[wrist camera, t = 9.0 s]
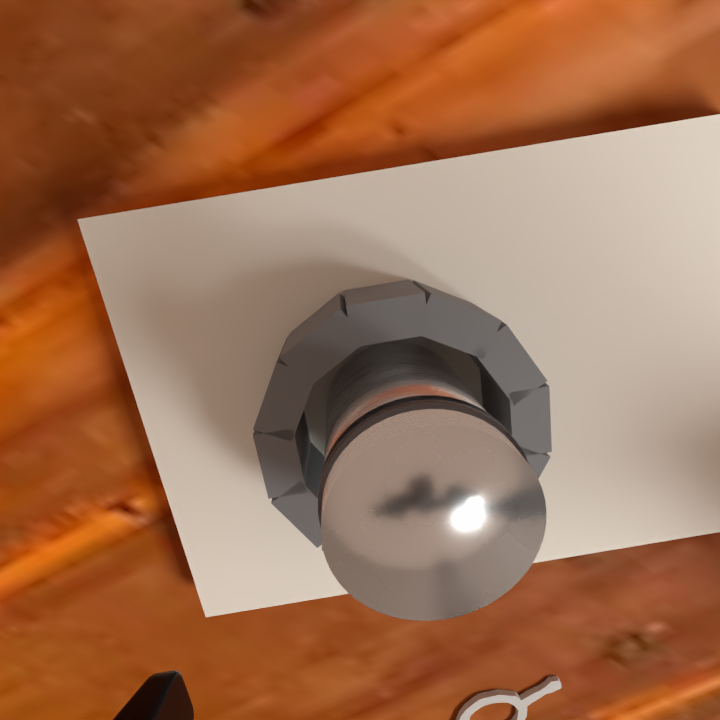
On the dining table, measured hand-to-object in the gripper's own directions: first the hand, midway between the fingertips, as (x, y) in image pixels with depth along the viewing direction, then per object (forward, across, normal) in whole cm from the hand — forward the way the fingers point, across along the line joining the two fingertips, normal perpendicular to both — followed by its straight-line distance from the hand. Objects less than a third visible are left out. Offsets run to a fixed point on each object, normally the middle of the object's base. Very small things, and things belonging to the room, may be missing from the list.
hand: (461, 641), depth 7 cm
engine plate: (+11, -2, 0) cm, 12 cm away
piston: (+10, 0, 0) cm, 10 cm away
